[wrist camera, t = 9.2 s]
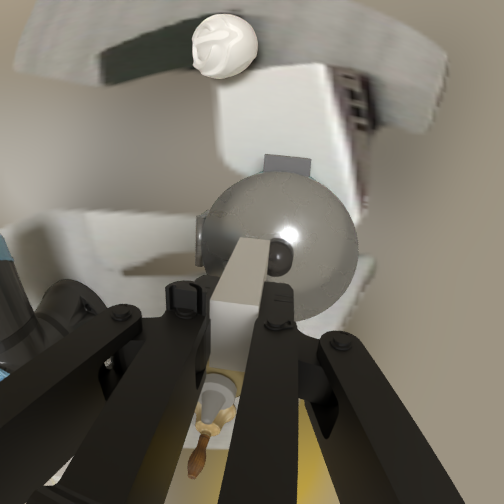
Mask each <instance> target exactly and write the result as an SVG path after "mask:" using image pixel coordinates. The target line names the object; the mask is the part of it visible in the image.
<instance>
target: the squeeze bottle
mask: <svg viewBox="0 0 504 504" xmlns="http://www.w3.org/2000/svg"><path fill="white" fill-rule="evenodd" d="M244 374H245V372H240V371H233V370H226V369H219V368H213V367H209V359H208V362H207V365H206V379H205V382H204V385H203V388H202V391H201V394H200V397H199V400H198V402H199V403H200V404H202V409H201V421H202V422H203V423H204V424H207V425H210V424H212V422H213V421H214V419H215V418H216V416H217V414H218V413H219V411H220V410H225V409H227V408H230V407H231V406H232V405H233V404H234V402H235V398H236V397H238V396H240V394H241V389H242V384H243V379H244Z"/></svg>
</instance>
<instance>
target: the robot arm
mask: <svg viewBox="0 0 504 504" xmlns="http://www.w3.org/2000/svg"><path fill="white" fill-rule="evenodd" d="M269 248H270V240H263V239H253V238H243V237H240V238H239V241H238V243H237V245H236V247H235V249H234V251H233V253H232V255H231V257H230V259H229V261H228V263H227V265H226V267H225V269H224V271H223V274H222V276H221V277H217V276H209V275H203V276H201V277H199V278H198V279H196V280H195V282H193V281H177V282H173V283H171V284H169V285H167V286H166V287H165V291H166V309H167V310H166V311H165V313H164V314H163V316H162V317H156V318H142V314H141V311H140V309H139V308H137V307H135V306H133V305H128V304H119V305H115V306H112V307H109V308H106V307H105V305H104V304H103V302H102V301H101V300H100V298H99V297H98V296H97V295H96V294H95V293H94V292H93V291H91V290H90V289H89V288H88V287H86V286H85V285H83V284H81V283H79V282H76V281H73V280H61V281H59V282H57V283H55V284H54V285H53V286H51V287H50V288H49V289H48V290H47V291H46V293H45V294H44V296H43V299H42V301H41V302H40V304H39V306H38V307H37V309H36V310H35V312H34V311H33V309H32V307H31V305H30V302H29V300H28V298H27V296H26V293H25V291H24V288H23V286H22V284H21V281H20V279H19V276H18V273H17V271H16V268H15V265H14V259H13V258H12V257H11V255H10V252H9V250H8V247H7V245H6V242H5V239H4V237H3V236H2V235H1V234H0V504H25V503H26V504H164V502H165V499H166V496H167V493H168V489H169V487H170V484H171V481H172V478H173V475H174V472H175V469H176V466H177V463H178V460H179V456H180V454H181V451H182V448H183V445H184V442H185V439H186V436H187V433H188V430H189V427H190V424H191V421H192V418H193V415H194V412H195V409H196V406H197V403H198V400H199V397H200V394H201V391H202V388H203V385H204V382H205V379H206V365H207V362H208V359H209V367H213V368H219V369H226V370H233V371H240V372H245V374H244V379H243V384H242V389H241V394H240V399H239V404H238V409H237V414H236V419H235V424H234V428H233V433H232V438H231V443H230V448H229V452H228V457H227V462H226V467H225V471H224V476H223V480H222V485H221V490H220V494H219V499H218V504H297V478H298V398H300V399H303V400H304V402H305V407H306V410H307V413H308V416H309V418H310V421H311V424H312V426H313V429H314V432H315V435H316V438H317V441H318V443H319V446H320V449H321V452H322V454H323V457H324V460H325V463H326V466H327V468H328V471H329V474H330V477H331V480H332V482H333V485H334V488H335V491H336V493H337V496H338V499H339V502H340V504H465V502H464V501H463V499H462V497H461V496H460V494H459V492H458V490H457V489H456V487H455V485H454V484H453V482H452V480H451V479H450V477H449V476H448V474H447V472H446V471H445V469H444V467H443V466H442V464H441V462H440V461H439V460H438V458H437V456H436V454H435V453H434V451H433V450H432V448H431V446H430V445H429V443H428V442H427V440H426V438H425V437H424V435H423V434H422V432H421V431H420V429H419V427H418V426H417V424H416V423H415V421H414V420H413V418H412V417H411V415H410V414H409V412H408V410H407V409H406V407H405V406H404V404H403V403H402V401H401V400H400V398H399V397H398V395H397V394H396V392H395V391H394V389H393V388H392V386H391V385H390V383H389V382H388V380H387V379H386V377H385V376H384V374H383V373H382V371H381V370H380V368H379V367H378V365H377V364H376V363H375V361H374V360H373V358H372V357H371V355H370V354H369V352H368V351H367V350H366V348H365V346H364V345H363V344H362V342H361V341H360V340H359V339H358V338H357V337H356V336H354V335H352V334H350V333H348V332H344V331H330V332H326V333H325V334H323V335H322V336H321V338H320V340H319V339H315V338H312V337H309V336H307V335H305V334H303V333H301V332H300V331H299V330H298V329H297V325H296V322H295V321H294V290H293V289H292V287H291V286H290V285H289V284H286V283H277V282H268V281H266V277H267V267H268V258H269ZM109 358H111V364H110V365H108V366H106V367H105V364H104V362H105V361H106V360H108V359H109ZM73 456H74V457H73ZM72 457H73V458H72ZM71 458H72V460H71V462H70V463H69V465H68V467H67V469H66V470H65V472H64V474H63V475H62V477H61V479H60V480H59V481H58V483H57V484H55V485H53V486H43V485H44V484H45V483H46V482H47V481H48V480H49V479H50V478H51V477H52V476H53V475H54V474H56V473H57V471H58V470H59V469H61V468H62V467H63V465H65V464H66V462H68V460H70V459H71Z"/></svg>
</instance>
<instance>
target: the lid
mask: <svg viewBox="0 0 504 504" xmlns="http://www.w3.org/2000/svg"><path fill="white" fill-rule="evenodd" d="M240 237H243V238H253V239H263V240H270V248H269V258H268V267H267V277H266V281H268V282H277V283H286V284H289V285H290V286H291V287H292V289H293V290H294V321H295V322H296V321H301V320H305V319H308V318H311V317H313V316H316V315H318V314H320V313H321V312H323V311H325V310H326V309H328V308H329V307H331V306H332V305H333V304H334V303H335V302H336V301H337V300H338V299H339V298H340V297H341V296H342V295H343V293H344V292H345V291H346V289H347V288H348V286H349V284H350V283H351V280H352V278H353V276H354V273H355V270H356V266H357V261H358V240H357V234H356V230H355V227H354V224H353V221H352V219H351V217H350V215H349V213H348V211H347V210H346V208H345V207H344V205H343V203H342V202H341V201H340V200H339V199H338V198H337V196H336V195H335V194H333V193H332V192H331V191H330V190H329V189H328V188H326V187H325V186H323V185H322V184H320V183H319V182H317V181H315V180H313V179H311V178H309V177H306V176H303V175H300V174H297V173H291V172H282V171H273V172H264V173H260V174H255V175H252V176H250V177H247V178H245V179H243V180H241V181H239V182H237V183H236V184H234V185H232V186H231V187H230V188H228V189H227V190H226V191H225V192H224V193H223V194H222V195H221V196H220V197H219V198H218V199H217V200H216V201H215V203H214V204H213V206H212V207H211V209H210V211H209V213H208V214H207V217H205V216H196V253H195V254H196V255H195V258H196V259H195V265H196V266H198V267H202V266H204V267H205V270H206V273H207V275H209V276H217V277H221V276H222V274H223V271H224V269H225V267H226V265H227V263H228V261H229V259H230V257H231V255H232V253H233V251H234V249H235V247H236V245H237V243H238V241H239V238H240Z"/></svg>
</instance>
